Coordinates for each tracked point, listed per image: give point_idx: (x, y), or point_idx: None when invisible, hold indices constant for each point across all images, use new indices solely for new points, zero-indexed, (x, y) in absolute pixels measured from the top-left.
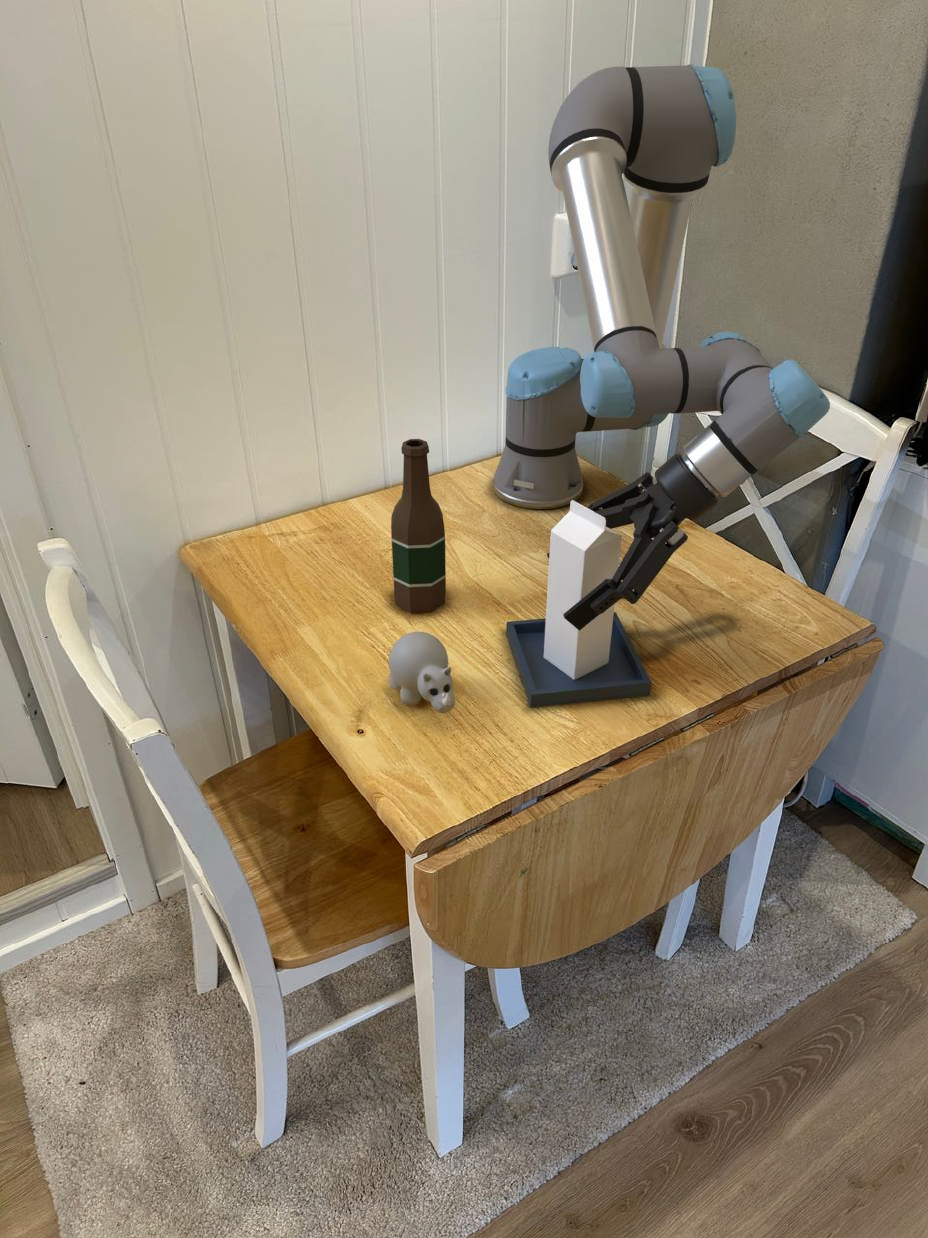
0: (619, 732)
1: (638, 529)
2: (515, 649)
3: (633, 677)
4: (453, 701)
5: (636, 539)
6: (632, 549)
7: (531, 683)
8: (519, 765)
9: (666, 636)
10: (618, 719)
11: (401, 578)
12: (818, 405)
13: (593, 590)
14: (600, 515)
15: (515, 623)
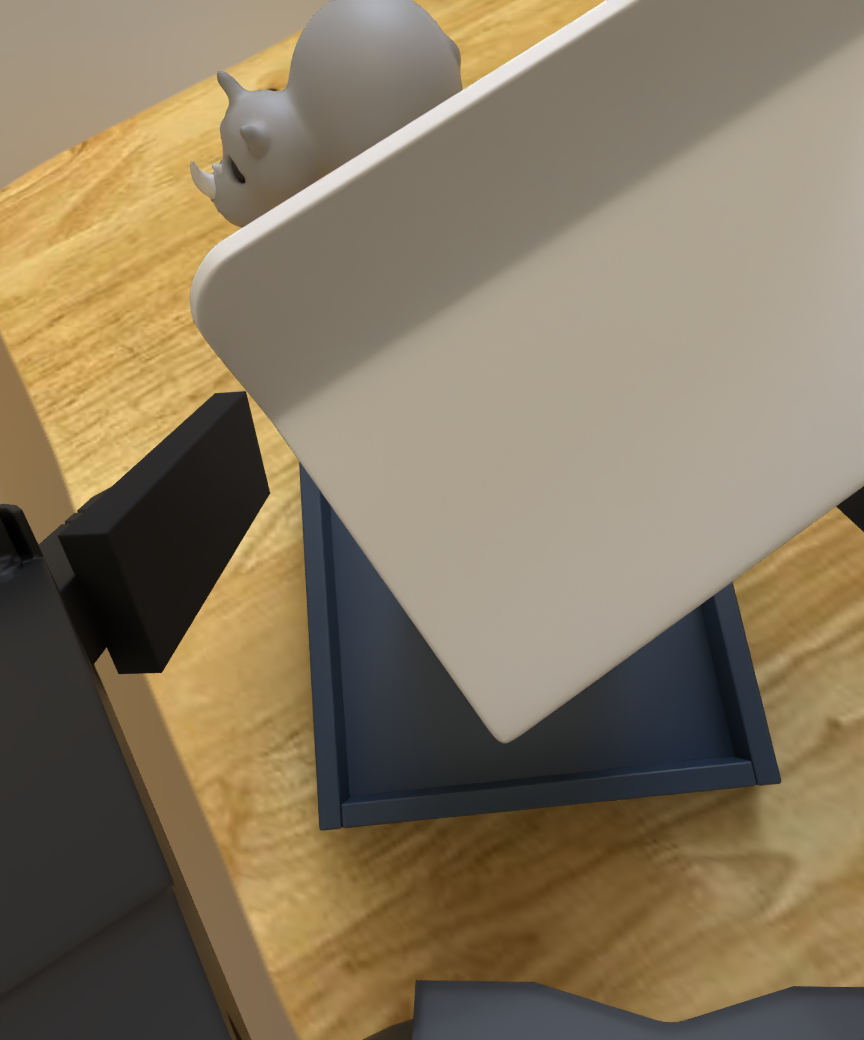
0: (182, 682)
1: (85, 1031)
2: None
3: (414, 778)
4: (225, 209)
5: (104, 914)
6: (31, 801)
7: None
8: (107, 410)
9: (688, 979)
10: (237, 689)
11: None
12: None
13: (149, 476)
14: (315, 189)
15: None
